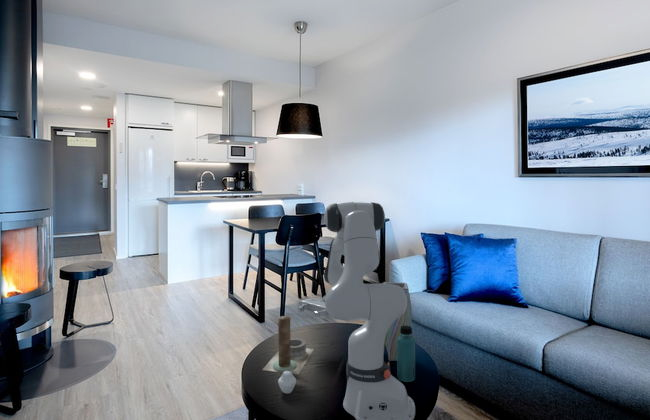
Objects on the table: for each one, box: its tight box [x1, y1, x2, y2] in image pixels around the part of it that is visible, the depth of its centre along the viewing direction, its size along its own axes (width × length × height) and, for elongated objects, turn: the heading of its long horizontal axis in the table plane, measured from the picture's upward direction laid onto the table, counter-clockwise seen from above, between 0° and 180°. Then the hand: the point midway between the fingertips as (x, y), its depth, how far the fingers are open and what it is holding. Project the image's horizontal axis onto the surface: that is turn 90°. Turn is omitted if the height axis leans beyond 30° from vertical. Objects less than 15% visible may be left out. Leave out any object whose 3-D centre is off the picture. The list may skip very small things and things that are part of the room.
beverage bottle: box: [396, 326, 416, 383], centre depth 134 cm, size 6×7×20 cm
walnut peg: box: [277, 315, 291, 367], centre depth 143 cm, size 4×4×18 cm
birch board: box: [262, 337, 315, 375], centre depth 149 cm, size 14×22×6 cm, turn 166°
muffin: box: [277, 371, 297, 394], centre depth 128 cm, size 6×6×7 cm
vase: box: [382, 281, 413, 362], centre depth 152 cm, size 14×14×30 cm
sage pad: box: [273, 360, 296, 373], centre depth 143 cm, size 9×9×1 cm
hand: (307, 311), depth 150 cm, fingers open, 8 cm apart
